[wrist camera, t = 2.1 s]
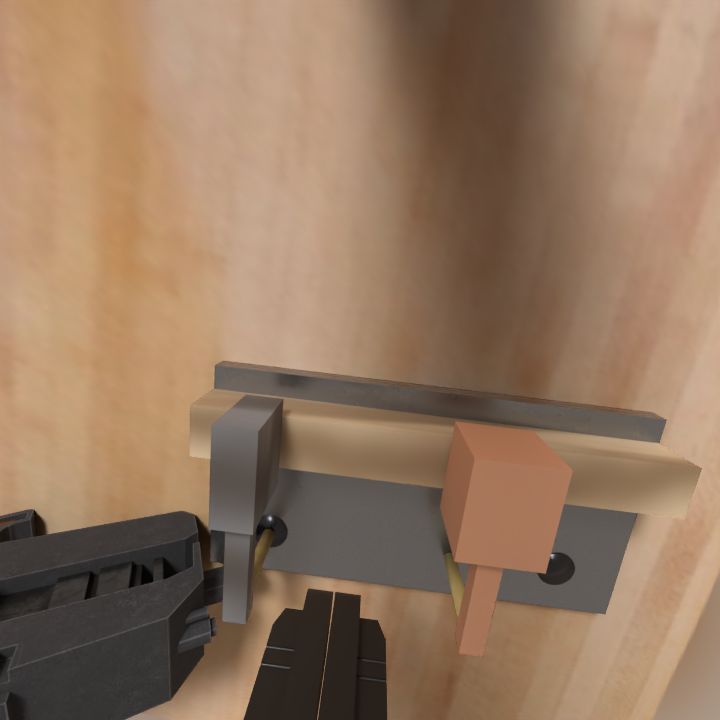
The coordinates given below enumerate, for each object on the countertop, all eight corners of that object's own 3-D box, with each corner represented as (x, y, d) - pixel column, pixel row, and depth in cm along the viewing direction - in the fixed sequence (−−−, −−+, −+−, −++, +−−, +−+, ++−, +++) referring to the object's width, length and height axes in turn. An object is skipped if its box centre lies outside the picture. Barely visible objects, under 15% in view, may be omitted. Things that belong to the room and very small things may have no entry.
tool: (-91, 504, 24) (-392, 797, 11) (225, 460, 33) (265, 593, 20) (-75, 584, 25) (-325, 928, 12) (224, 521, 34) (261, 682, 21)
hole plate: (223, 360, 24) (214, 365, 22) (651, 412, 23) (667, 420, 22) (217, 548, 27) (209, 562, 26) (595, 599, 26) (605, 615, 25)
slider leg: (445, 402, 22) (474, 458, 15) (513, 410, 22) (572, 470, 15) (418, 560, 24) (433, 668, 18) (479, 568, 24) (517, 680, 18)
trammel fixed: (214, 373, 23) (141, 416, 16) (664, 427, 22) (798, 498, 15) (211, 529, 25) (145, 628, 18) (615, 583, 24) (710, 706, 17)
